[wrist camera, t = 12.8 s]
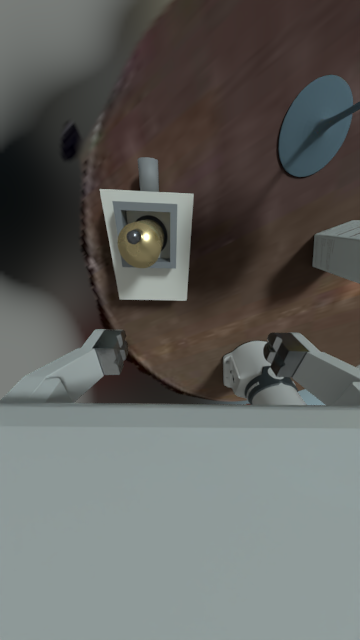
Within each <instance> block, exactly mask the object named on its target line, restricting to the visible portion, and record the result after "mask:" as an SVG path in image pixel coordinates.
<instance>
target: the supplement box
mask: <svg viewBox="0 0 360 640" xmlns="http://www.w3.org/2000/svg"><path fill="white" fill-rule="evenodd" d="M312 267H315V268H318V269H321V270H324V271H326V272H329V273H332V274H335V275H337V276H340V277H343V278H346V279H348V280H351V281H354V282H357V283H359V284H360V220H352V221H350V222H347V223H344V224H342V225H339V226H336V227H333V228H331V229H328V230H325V231H323V232H320V233H317V234H315V236H314V251H313V264H312Z"/></svg>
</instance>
